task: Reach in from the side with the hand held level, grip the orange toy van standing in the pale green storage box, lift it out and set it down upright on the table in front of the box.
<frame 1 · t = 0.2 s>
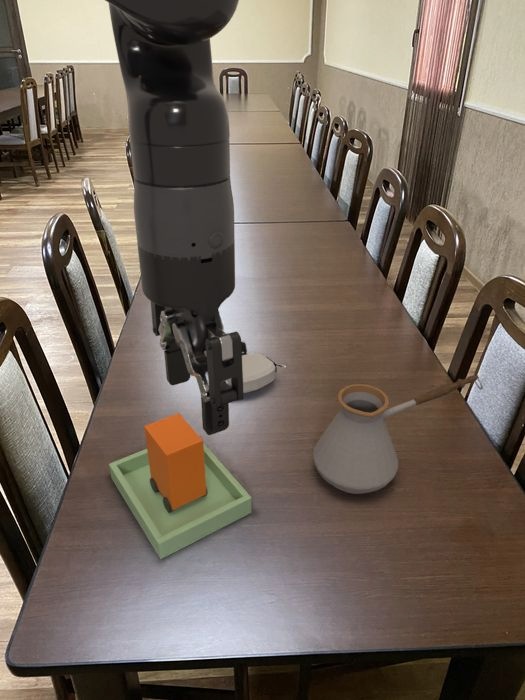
hand: (196, 404, 50), 23 cm above the table, tool pointing down, fingers open, 8 cm apart
storage box: (179, 495, 71), on the table
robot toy: (235, 378, 94), on the table
coffee pot: (387, 471, 75), on the table
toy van: (178, 492, 70), resting on storage box
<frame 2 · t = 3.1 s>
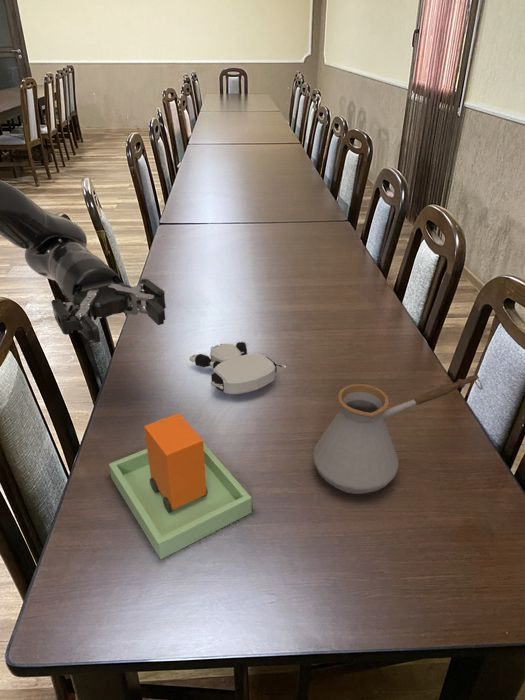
hand: (130, 326, 68), 20 cm above the table, tool horizontal, fingers open, 8 cm apart
nothing on the table moved.
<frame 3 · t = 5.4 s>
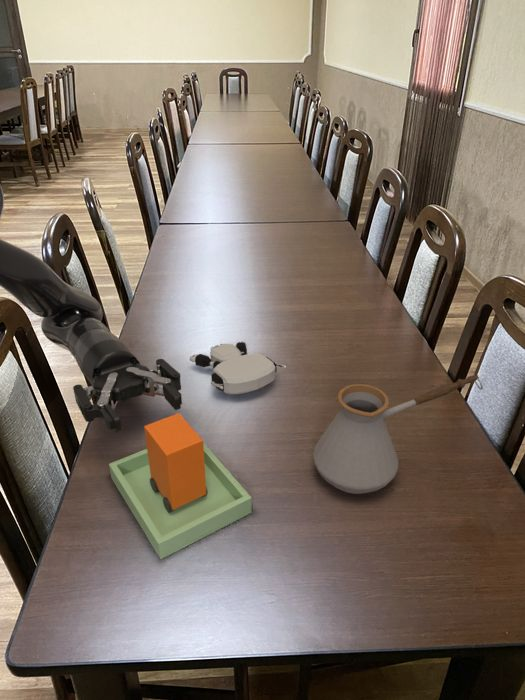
hand: (149, 414, 71), 8 cm above the table, tool horizontal, fingers open, 8 cm apart
nothing on the table moved.
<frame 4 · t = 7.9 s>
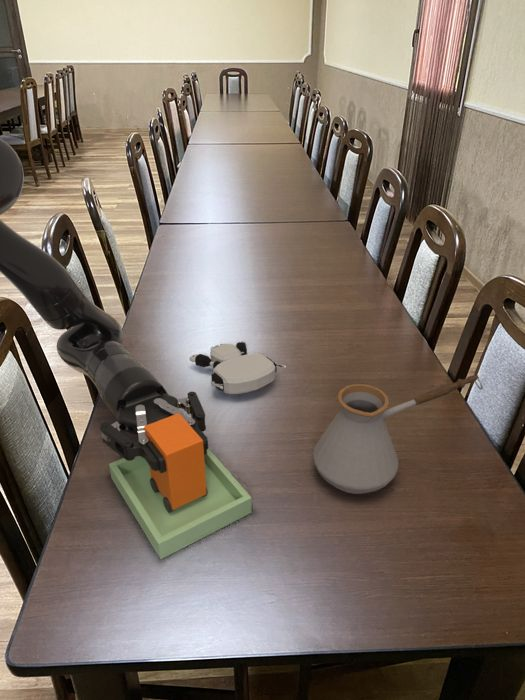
hand: (184, 457, 64), 8 cm above the table, tool horizontal, fingers closed on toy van, 4 cm apart
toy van: (179, 492, 70), point 1 cm above the table, touching gripper, storage box
everything else where it was.
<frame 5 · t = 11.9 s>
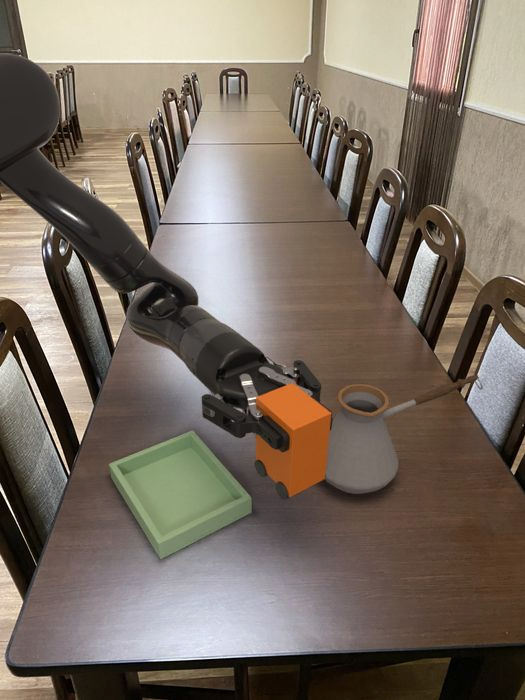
hand: (308, 434, 54), 18 cm above the table, tool horizontal, fingers closed on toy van, 4 cm apart
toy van: (289, 476, 60), point 10 cm above the table, touching gripper
everything else where it was.
when the fingers open (8 cm above the table, at t = 15.7 s): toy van stays where it is, on the table.
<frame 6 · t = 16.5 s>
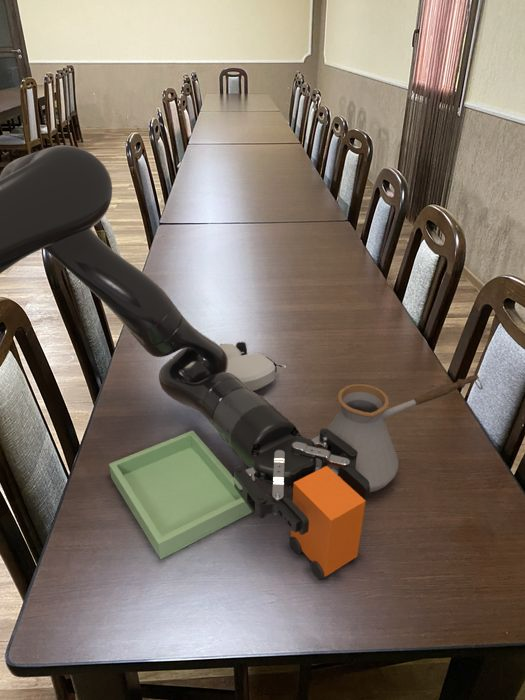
hand: (337, 510, 57), 9 cm above the table, tool horizontal, fingers open, 8 cm apart
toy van: (322, 552, 63), on the table
everything else where it was.
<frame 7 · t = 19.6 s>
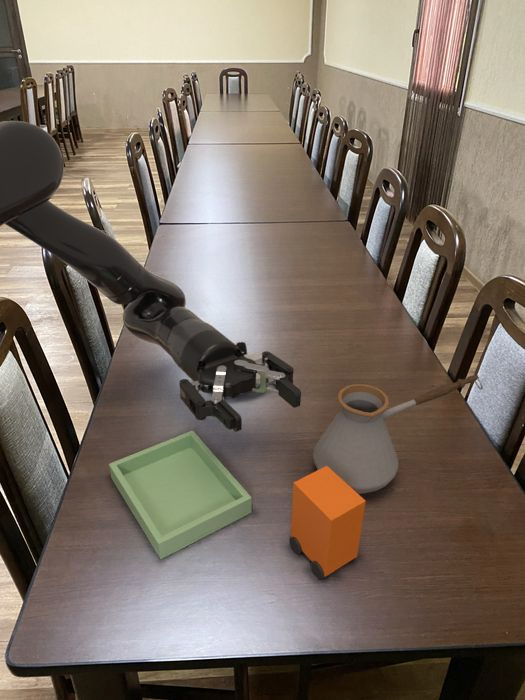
hand: (269, 412, 64), 14 cm above the table, tool horizontal, fingers open, 8 cm apart
nothing on the table moved.
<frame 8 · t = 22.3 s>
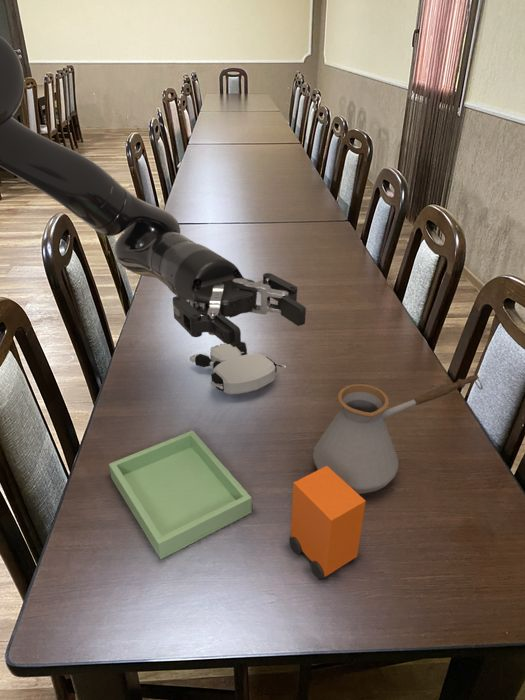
hand: (271, 327, 58), 25 cm above the table, tool horizontal, fingers open, 8 cm apart
nothing on the table moved.
at the end: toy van inside the target area (0.1 cm from its centre), on the table; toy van tilted 0°; the gripper is holding nothing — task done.
